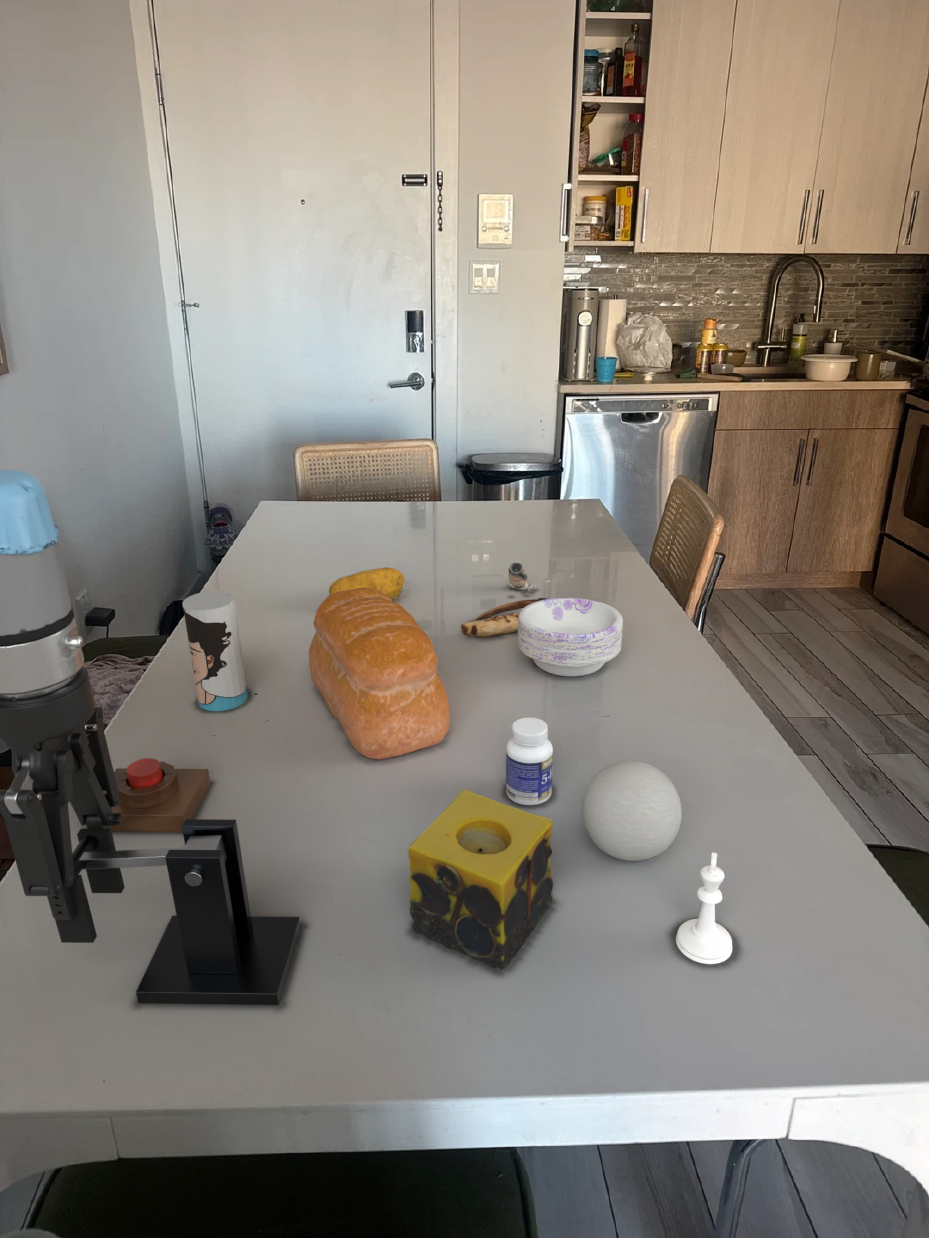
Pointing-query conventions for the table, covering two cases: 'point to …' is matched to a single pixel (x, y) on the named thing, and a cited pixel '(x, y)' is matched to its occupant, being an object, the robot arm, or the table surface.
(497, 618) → the bone fish hook
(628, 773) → the ball
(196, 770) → the button block
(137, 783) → the button
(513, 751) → the pill bottle
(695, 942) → the chess piece
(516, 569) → the vase
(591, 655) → the paper bowls
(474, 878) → the candle
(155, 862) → the lever
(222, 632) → the cup
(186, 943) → the bracket
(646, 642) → the table surface
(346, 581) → the potato
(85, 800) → the robot arm
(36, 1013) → the table surface
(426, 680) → the bread
